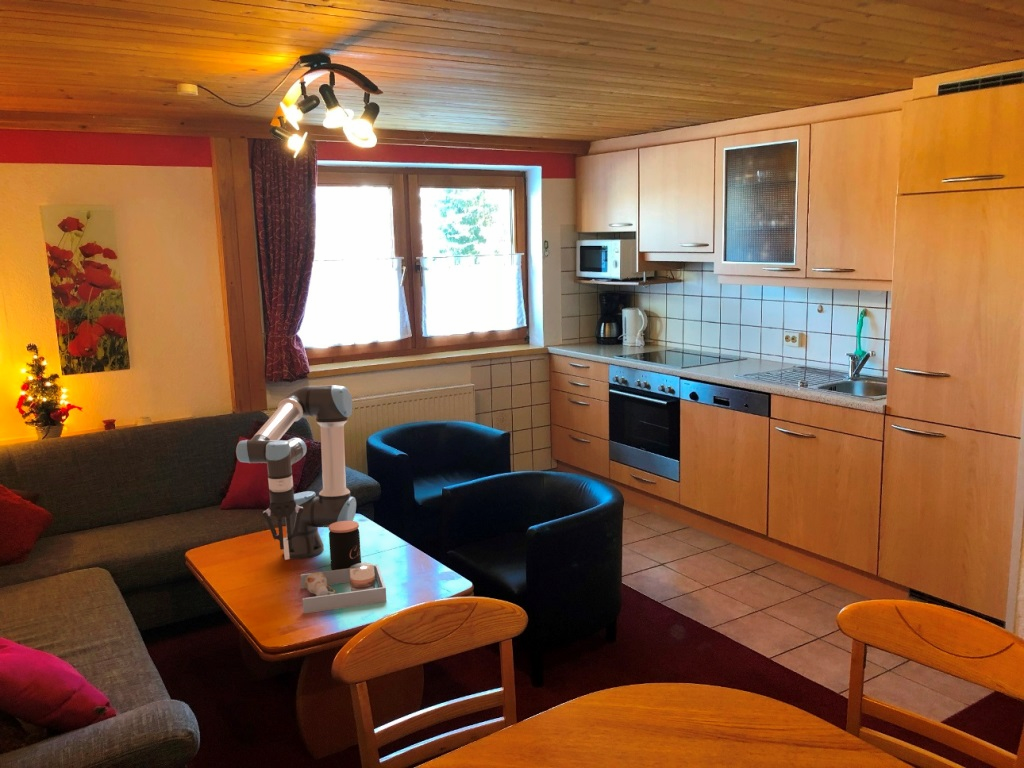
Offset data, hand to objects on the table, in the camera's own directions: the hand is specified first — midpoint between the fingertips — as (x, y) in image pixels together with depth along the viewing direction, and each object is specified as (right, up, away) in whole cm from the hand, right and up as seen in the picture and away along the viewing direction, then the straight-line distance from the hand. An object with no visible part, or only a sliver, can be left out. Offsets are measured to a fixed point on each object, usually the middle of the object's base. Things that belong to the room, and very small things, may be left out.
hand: (287, 557), depth 268 cm
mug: (+12, -15, +4) cm, 19 cm away
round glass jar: (+24, -13, +7) cm, 28 cm away
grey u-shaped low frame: (+17, -14, +6) cm, 23 cm away
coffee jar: (+15, -11, +24) cm, 31 cm away
